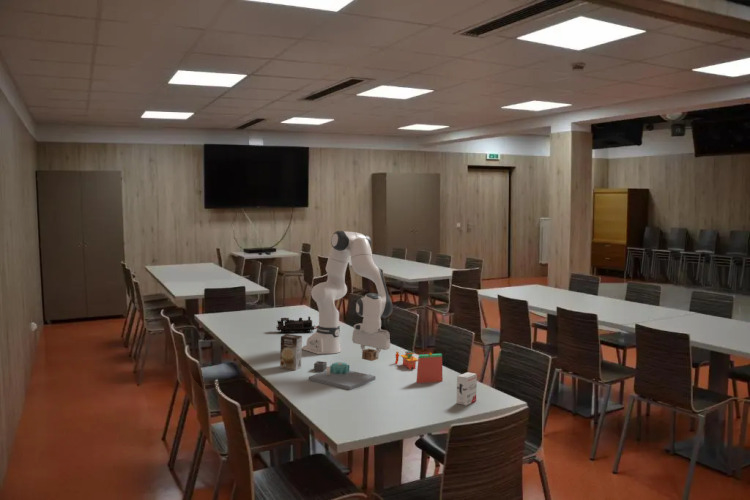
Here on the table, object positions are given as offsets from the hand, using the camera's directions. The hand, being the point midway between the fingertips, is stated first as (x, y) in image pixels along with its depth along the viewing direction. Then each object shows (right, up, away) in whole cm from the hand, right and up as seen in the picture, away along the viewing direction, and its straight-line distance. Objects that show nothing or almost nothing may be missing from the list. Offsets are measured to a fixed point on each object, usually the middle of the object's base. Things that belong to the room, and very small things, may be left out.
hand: (370, 355), depth 284 cm
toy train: (-48, -2, +88) cm, 100 cm away
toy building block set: (+23, -10, +7) cm, 25 cm away
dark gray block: (-25, -8, +6) cm, 27 cm away
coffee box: (-40, -8, +8) cm, 41 cm away
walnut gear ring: (0, -2, 0) cm, 2 cm away
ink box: (+41, -13, -37) cm, 56 cm away
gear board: (-13, -10, -9) cm, 19 cm away
